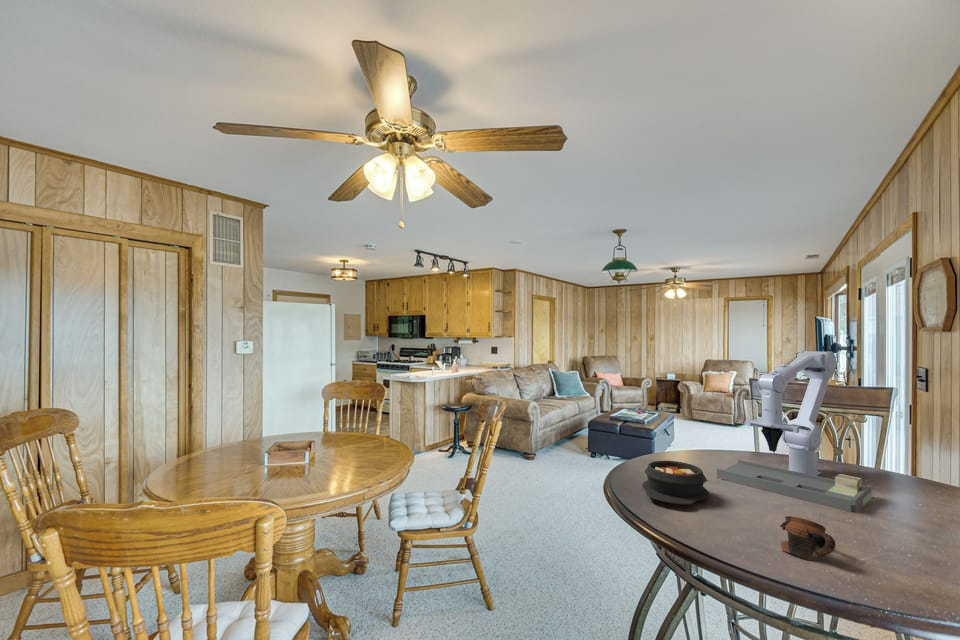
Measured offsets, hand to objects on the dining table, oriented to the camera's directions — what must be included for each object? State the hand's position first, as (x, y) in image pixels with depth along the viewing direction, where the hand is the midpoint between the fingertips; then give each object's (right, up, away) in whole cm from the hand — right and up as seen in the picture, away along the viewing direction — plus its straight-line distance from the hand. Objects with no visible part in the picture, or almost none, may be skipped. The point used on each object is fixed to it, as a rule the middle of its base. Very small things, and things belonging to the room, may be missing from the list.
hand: (772, 450), depth 144 cm
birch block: (+11, -7, -17) cm, 21 cm away
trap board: (0, -9, -8) cm, 12 cm away
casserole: (-40, -9, -15) cm, 43 cm away
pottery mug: (-26, -8, -49) cm, 56 cm away
